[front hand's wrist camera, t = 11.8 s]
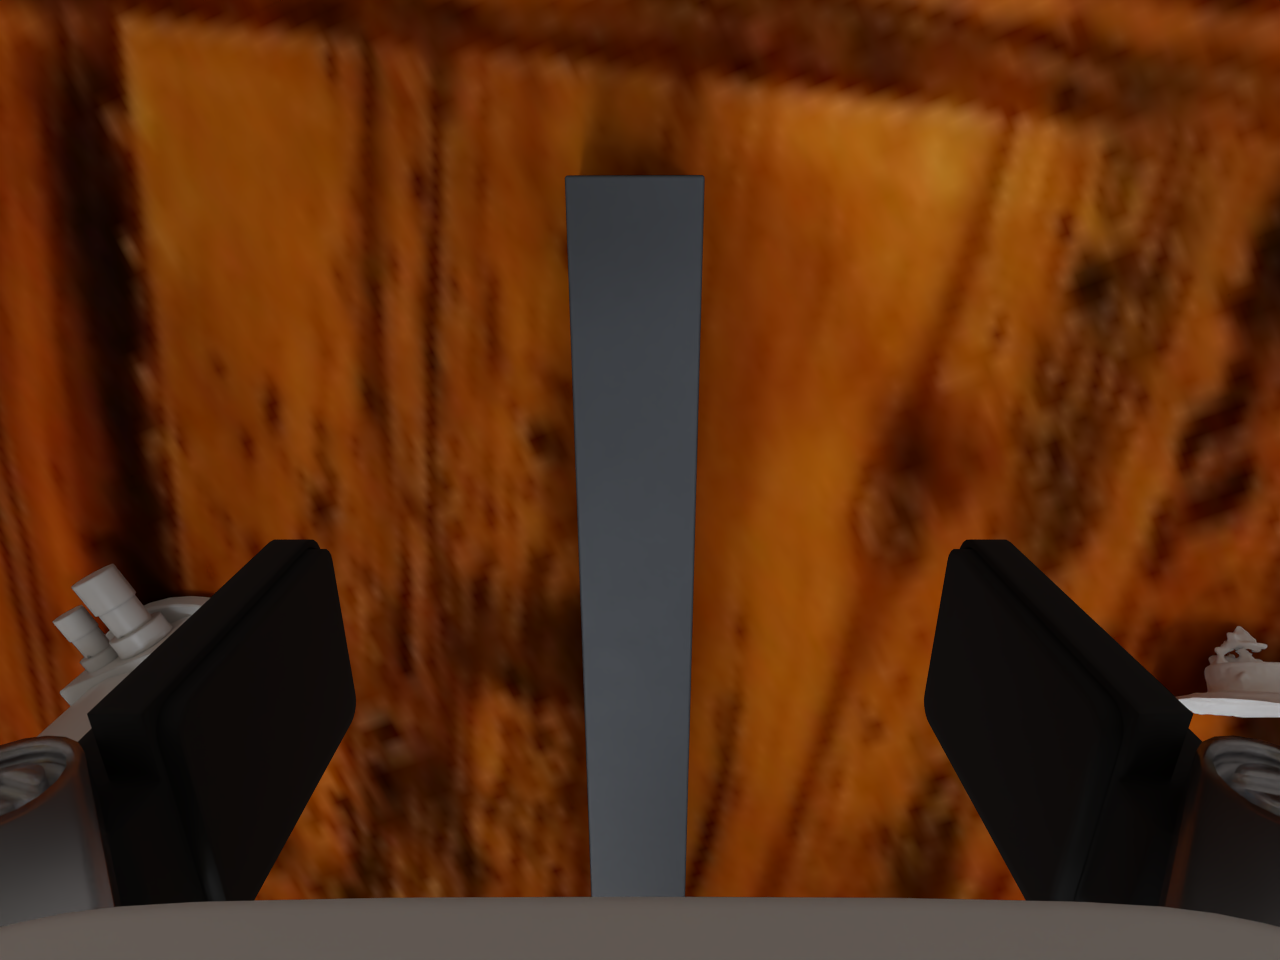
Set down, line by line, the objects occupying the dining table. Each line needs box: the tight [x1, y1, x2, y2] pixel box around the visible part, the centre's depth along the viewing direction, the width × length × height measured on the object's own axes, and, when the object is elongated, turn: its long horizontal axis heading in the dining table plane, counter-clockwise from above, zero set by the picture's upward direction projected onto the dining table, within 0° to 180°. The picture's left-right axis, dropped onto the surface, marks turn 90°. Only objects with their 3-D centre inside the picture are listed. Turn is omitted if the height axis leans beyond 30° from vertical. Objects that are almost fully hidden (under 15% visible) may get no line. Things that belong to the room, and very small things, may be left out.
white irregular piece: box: [1176, 626, 1280, 717], centre depth 37 cm, size 8×5×8 cm
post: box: [565, 175, 705, 897], centre depth 41 cm, size 68×5×6 cm, turn 0°
